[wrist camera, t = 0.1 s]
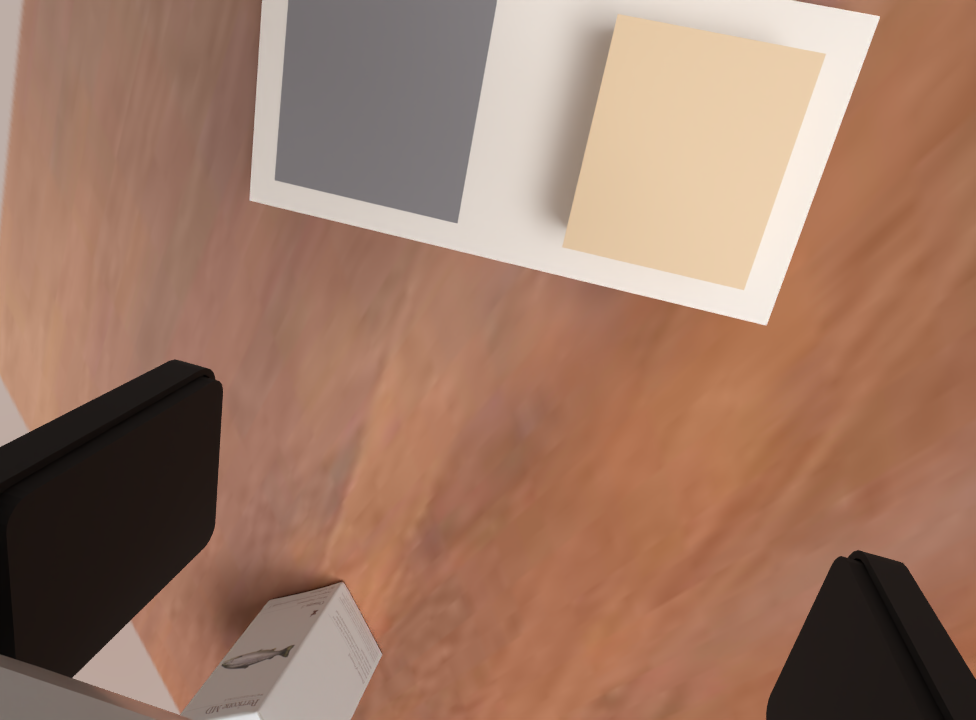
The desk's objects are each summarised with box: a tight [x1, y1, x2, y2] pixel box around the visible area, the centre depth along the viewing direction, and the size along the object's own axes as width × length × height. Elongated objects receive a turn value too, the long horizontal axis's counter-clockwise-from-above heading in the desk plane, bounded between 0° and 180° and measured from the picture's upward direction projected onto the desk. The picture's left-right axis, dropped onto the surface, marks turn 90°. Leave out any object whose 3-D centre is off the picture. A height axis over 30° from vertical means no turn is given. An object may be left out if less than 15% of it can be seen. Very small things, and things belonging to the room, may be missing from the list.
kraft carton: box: [562, 14, 826, 290], centre depth 32 cm, size 10×8×5 cm
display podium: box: [250, 0, 880, 325], centre depth 36 cm, size 15×30×3 cm, turn 79°
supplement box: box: [180, 582, 382, 720], centre depth 47 cm, size 7×7×13 cm
